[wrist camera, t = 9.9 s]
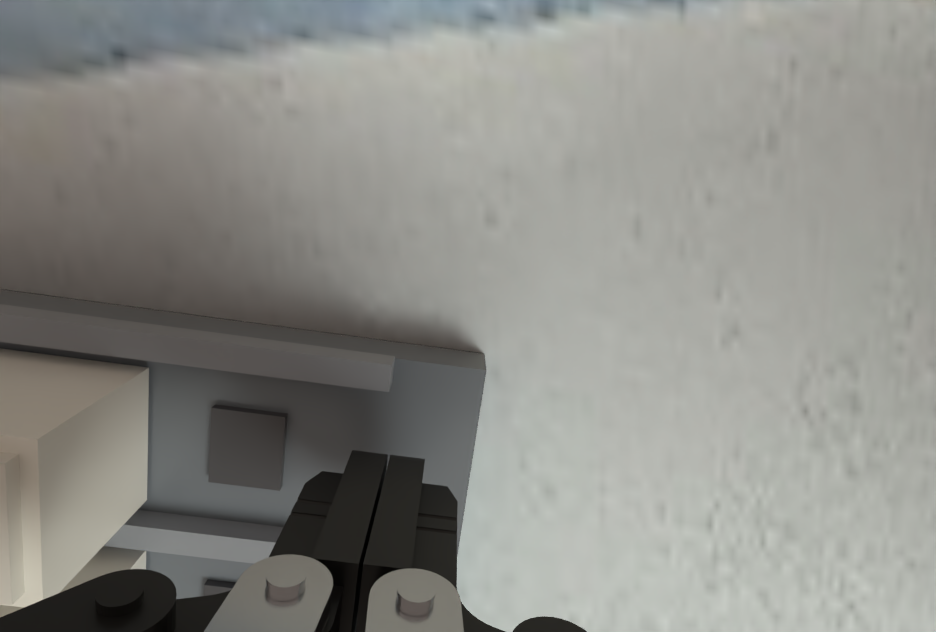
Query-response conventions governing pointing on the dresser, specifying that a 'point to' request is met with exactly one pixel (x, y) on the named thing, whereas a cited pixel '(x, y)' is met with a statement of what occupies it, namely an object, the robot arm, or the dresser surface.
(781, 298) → the dresser surface
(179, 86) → the dresser surface
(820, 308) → the dresser surface
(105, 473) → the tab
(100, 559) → the tab mid
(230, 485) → the switch bank
